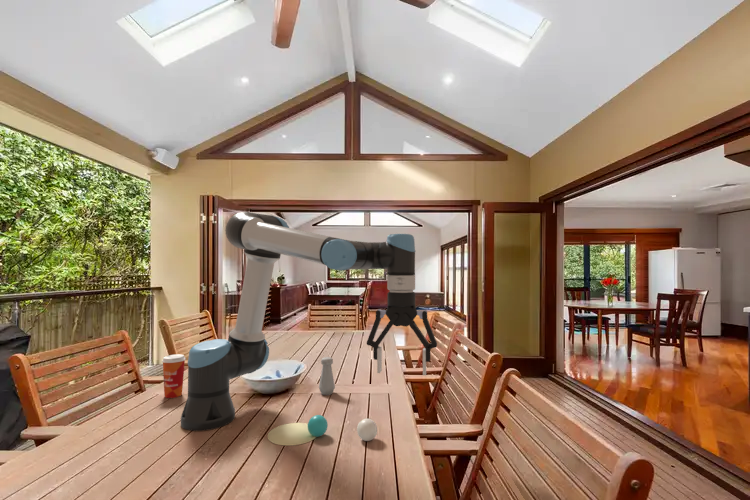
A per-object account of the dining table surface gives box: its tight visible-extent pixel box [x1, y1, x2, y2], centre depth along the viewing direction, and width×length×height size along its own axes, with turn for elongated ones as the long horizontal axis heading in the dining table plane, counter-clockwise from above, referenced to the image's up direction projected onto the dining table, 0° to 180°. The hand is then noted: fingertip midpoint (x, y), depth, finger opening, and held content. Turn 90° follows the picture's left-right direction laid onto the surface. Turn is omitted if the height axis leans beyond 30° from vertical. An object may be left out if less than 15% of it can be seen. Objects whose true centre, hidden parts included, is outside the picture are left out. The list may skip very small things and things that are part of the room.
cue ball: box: [356, 418, 378, 442], centre depth 104 cm, size 6×6×6 cm
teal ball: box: [307, 414, 328, 438], centre depth 107 cm, size 6×6×6 cm
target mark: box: [267, 422, 317, 447], centre depth 108 cm, size 14×14×1 cm
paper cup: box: [161, 353, 186, 399], centre depth 139 cm, size 8×8×14 cm
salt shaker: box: [318, 356, 336, 396], centre depth 142 cm, size 6×6×13 cm
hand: (401, 372), depth 103 cm, fingers open, 11 cm apart
